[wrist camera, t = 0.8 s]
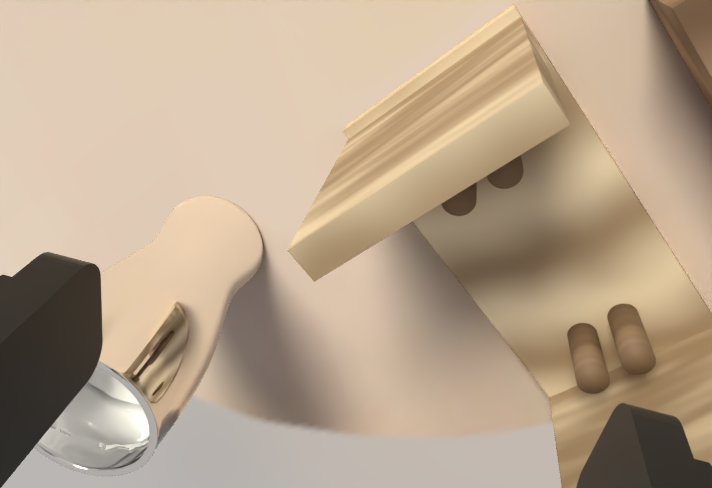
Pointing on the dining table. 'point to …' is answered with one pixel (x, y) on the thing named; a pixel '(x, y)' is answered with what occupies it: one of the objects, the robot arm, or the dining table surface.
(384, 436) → the dining table surface
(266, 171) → the dining table surface
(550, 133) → the peg jig
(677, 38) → the shelf board
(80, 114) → the dining table surface
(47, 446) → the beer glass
